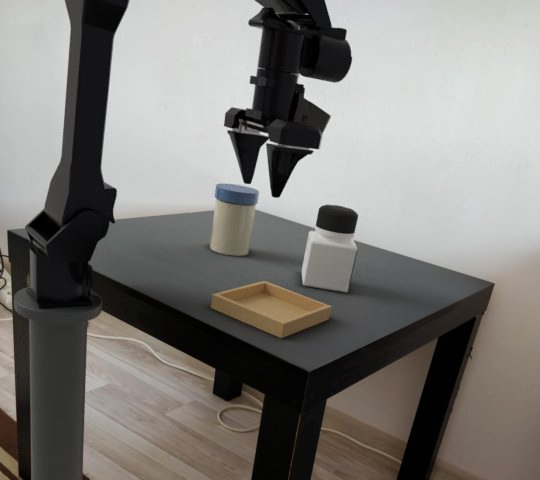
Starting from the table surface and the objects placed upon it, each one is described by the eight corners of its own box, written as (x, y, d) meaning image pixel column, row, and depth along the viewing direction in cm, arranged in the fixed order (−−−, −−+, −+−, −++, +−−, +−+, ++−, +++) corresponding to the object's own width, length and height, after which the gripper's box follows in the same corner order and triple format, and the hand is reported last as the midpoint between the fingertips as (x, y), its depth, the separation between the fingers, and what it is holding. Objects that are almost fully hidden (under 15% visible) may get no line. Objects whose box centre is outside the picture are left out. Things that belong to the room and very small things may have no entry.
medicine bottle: (348, 293, 89) (365, 215, 84) (302, 286, 89) (317, 207, 84) (343, 279, 96) (359, 206, 91) (301, 273, 96) (315, 199, 91)
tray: (281, 338, 69) (283, 323, 68) (210, 307, 74) (212, 293, 73) (328, 319, 77) (331, 306, 77) (262, 293, 83) (264, 280, 82)
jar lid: (227, 204, 93) (229, 191, 92) (206, 193, 98) (207, 182, 98) (265, 205, 97) (267, 194, 97) (243, 195, 103) (244, 184, 102)
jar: (222, 256, 97) (230, 194, 93) (203, 244, 102) (209, 185, 98) (256, 255, 101) (265, 196, 97) (236, 244, 106) (243, 187, 102)
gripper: (366, 86, 75) (341, 208, 81) (295, 77, 89) (278, 181, 96) (292, 72, 69) (271, 204, 76) (229, 64, 84) (216, 176, 90)
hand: (260, 190), depth 84 cm, fingers open, 9 cm apart
